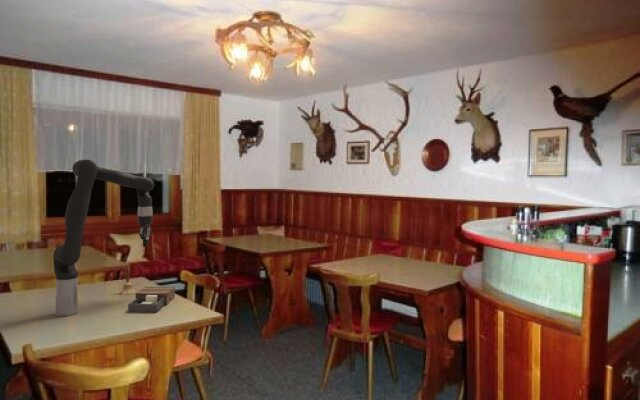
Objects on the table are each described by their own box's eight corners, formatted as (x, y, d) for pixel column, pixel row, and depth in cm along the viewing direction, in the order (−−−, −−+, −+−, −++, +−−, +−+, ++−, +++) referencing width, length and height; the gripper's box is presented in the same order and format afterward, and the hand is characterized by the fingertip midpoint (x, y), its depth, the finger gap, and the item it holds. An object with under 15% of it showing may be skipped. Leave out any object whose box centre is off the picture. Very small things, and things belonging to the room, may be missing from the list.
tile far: (157, 304, 236) (155, 306, 233) (147, 304, 236) (145, 306, 233) (157, 295, 236) (155, 296, 233) (147, 295, 235) (145, 296, 233)
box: (156, 312, 225) (156, 304, 225) (128, 312, 225) (128, 304, 224) (164, 305, 237) (164, 297, 237) (137, 305, 237) (137, 297, 236)
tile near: (153, 301, 233) (153, 306, 233) (143, 301, 233) (143, 306, 233) (150, 304, 228) (150, 309, 228) (140, 304, 228) (140, 309, 228)
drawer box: (166, 305, 237) (166, 293, 237) (135, 304, 237) (135, 293, 236) (174, 297, 251) (174, 287, 251) (145, 297, 251) (145, 286, 250)
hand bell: (132, 295, 255) (131, 266, 254) (117, 294, 255) (117, 266, 254) (138, 291, 264) (138, 263, 263) (123, 290, 264) (123, 263, 263)
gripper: (143, 213, 254) (143, 244, 255) (133, 215, 241) (133, 248, 242) (156, 213, 254) (156, 244, 255) (147, 216, 241) (147, 248, 242)
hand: (145, 246), depth 249 cm, fingers closed
